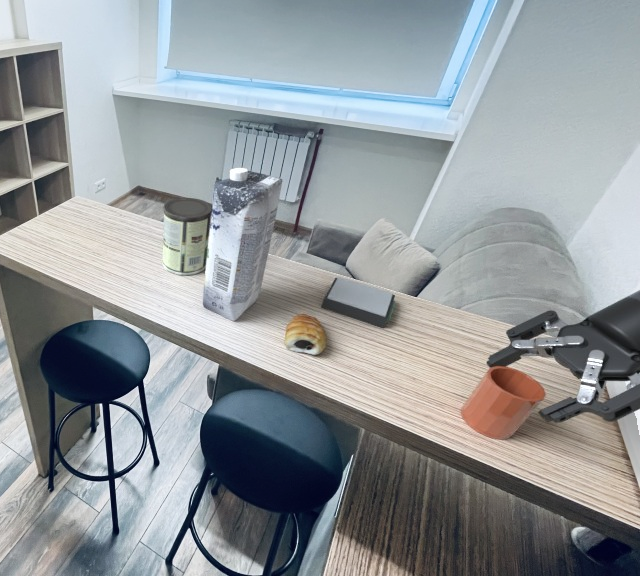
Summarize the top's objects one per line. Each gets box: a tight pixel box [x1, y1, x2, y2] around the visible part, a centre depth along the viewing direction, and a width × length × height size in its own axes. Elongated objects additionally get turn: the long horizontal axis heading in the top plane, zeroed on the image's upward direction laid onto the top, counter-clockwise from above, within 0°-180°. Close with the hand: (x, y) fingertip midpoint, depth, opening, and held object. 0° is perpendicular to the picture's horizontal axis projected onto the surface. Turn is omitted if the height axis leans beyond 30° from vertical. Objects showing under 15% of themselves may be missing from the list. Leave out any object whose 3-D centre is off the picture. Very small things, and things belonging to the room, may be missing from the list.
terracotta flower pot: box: [460, 366, 547, 440], centre depth 56 cm, size 6×6×8 cm
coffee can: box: [161, 197, 213, 276], centre depth 90 cm, size 10×10×14 cm
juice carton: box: [202, 167, 283, 322], centre depth 73 cm, size 9×10×27 cm
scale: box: [320, 276, 397, 329], centre depth 79 cm, size 11×9×3 cm
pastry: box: [283, 313, 327, 356], centre depth 72 cm, size 9×7×4 cm
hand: (514, 390), depth 54 cm, fingers open, 8 cm apart
